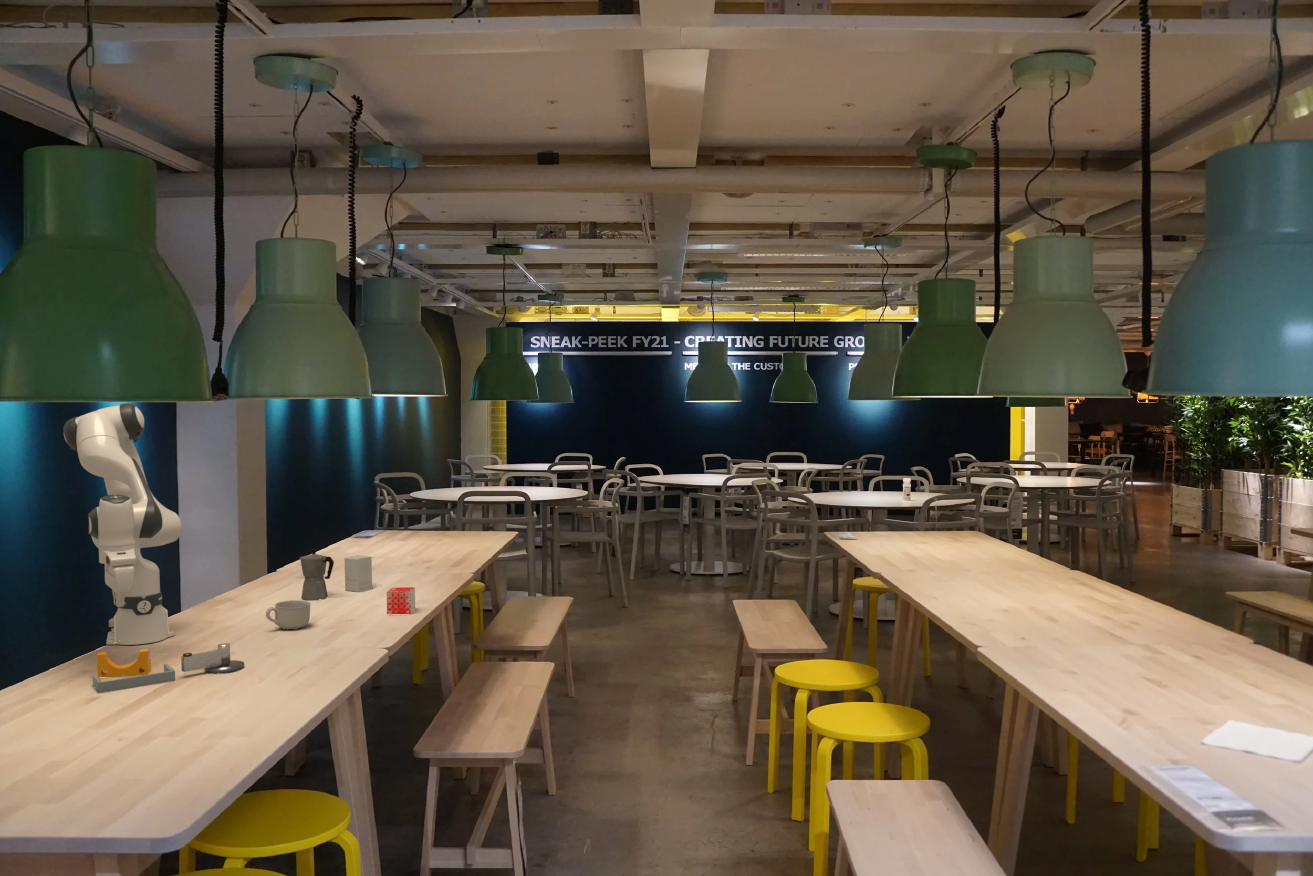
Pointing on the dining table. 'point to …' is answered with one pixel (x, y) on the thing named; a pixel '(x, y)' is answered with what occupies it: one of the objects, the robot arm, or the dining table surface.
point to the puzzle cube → (401, 600)
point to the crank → (206, 658)
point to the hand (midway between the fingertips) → (119, 605)
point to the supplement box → (358, 573)
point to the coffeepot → (315, 575)
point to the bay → (135, 680)
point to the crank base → (226, 667)
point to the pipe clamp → (126, 669)
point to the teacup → (290, 614)
